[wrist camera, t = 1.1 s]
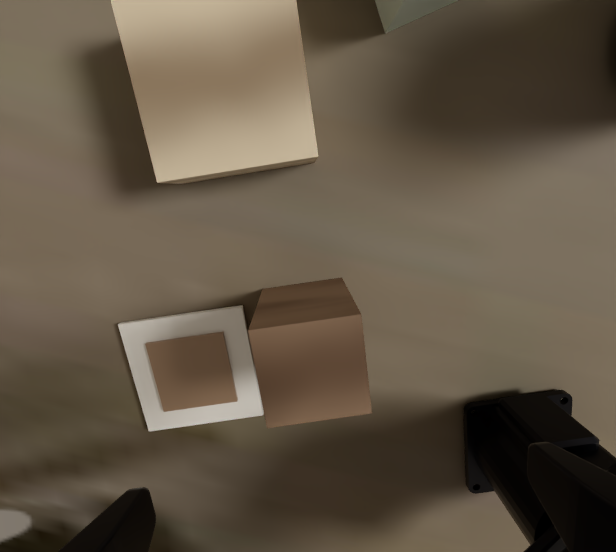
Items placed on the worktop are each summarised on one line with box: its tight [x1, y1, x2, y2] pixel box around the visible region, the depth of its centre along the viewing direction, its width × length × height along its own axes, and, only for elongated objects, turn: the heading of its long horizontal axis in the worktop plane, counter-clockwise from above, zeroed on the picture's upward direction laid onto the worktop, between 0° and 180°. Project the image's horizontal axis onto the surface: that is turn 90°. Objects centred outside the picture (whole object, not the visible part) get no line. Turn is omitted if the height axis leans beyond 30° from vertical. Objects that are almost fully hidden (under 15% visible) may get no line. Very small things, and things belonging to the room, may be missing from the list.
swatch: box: [118, 305, 264, 431], centre depth 20 cm, size 7×7×1 cm
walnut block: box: [248, 278, 372, 428], centre depth 17 cm, size 4×4×6 cm
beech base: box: [111, 0, 318, 184], centre depth 16 cm, size 7×7×4 cm
